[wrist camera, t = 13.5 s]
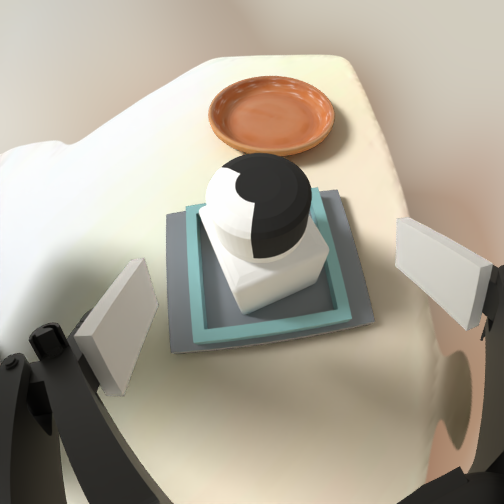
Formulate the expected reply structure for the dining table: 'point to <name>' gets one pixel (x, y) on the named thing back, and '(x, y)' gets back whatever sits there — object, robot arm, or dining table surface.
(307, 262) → the medicine bottle
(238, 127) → the saucer
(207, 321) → the dock
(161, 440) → the dining table surface
